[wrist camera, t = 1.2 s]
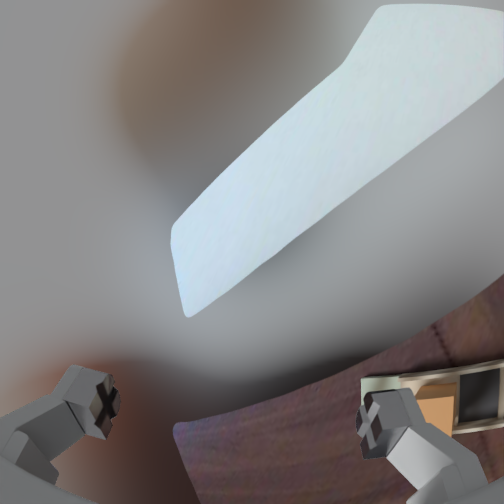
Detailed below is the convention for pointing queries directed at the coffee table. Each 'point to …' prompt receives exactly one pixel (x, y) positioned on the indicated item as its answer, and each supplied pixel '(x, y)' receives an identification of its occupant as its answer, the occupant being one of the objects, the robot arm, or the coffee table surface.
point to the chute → (468, 392)
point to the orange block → (438, 405)
